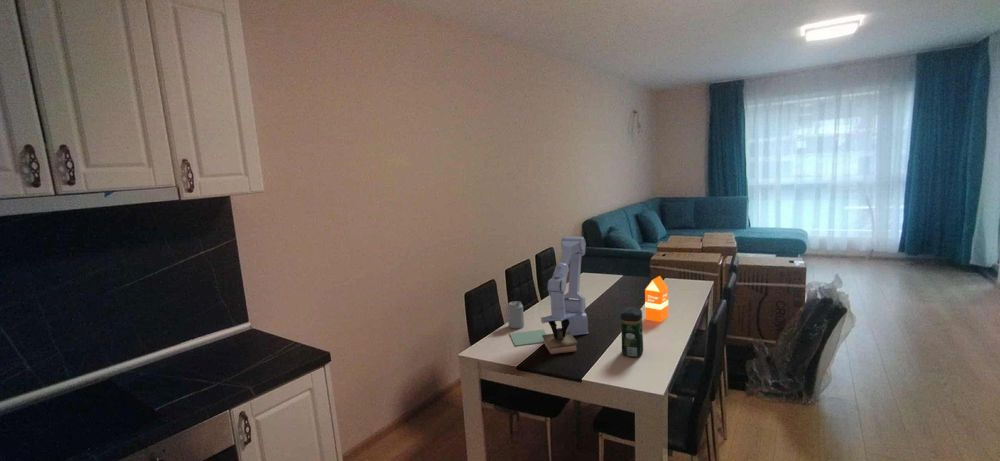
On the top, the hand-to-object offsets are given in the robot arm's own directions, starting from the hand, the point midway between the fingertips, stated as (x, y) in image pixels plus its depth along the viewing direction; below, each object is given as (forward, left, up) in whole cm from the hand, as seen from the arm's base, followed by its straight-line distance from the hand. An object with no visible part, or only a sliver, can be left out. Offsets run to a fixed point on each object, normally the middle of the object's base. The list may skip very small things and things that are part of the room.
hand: (559, 337), depth 190 cm
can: (+13, -30, -5) cm, 33 cm away
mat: (+10, -14, -5) cm, 18 cm away
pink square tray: (0, 0, -5) cm, 5 cm away
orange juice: (-54, -19, -5) cm, 57 cm away
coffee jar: (-26, +14, -5) cm, 30 cm away
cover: (0, 0, -1) cm, 1 cm away
